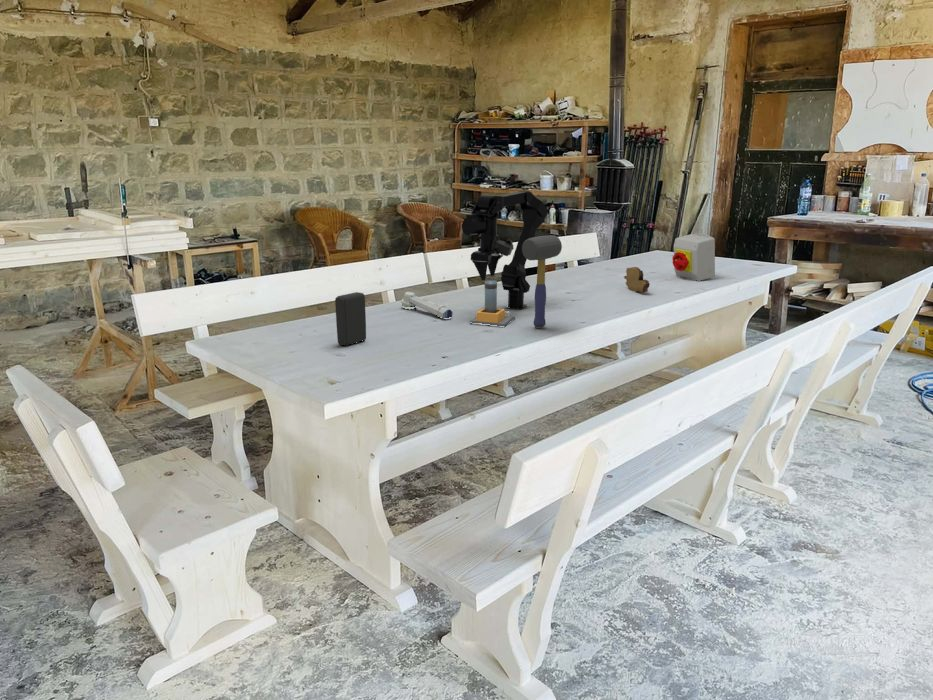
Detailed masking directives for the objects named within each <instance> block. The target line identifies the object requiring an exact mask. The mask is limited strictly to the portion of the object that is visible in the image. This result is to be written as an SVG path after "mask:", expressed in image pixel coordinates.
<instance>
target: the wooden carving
mask: <svg viewBox="0 0 933 700" xmlns="http://www.w3.org/2000/svg"><path fill="white" fill-rule="evenodd" d="M625 273H626V275H625V276H623V278H624V280H626V282H625V285H626V286H627V288H628V289H629V290H630V291H631V290H632V292H633V291H635V292H634V293H637V292H640V293H642V294H643V293H644V294H645V293H647V292H648V289H649V288H650V285H651V284H650V281H649V280H647V279H644V272H643V270H641V268H639V267H638V266H632V267H626V269H625Z"/></svg>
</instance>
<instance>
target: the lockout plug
mask: <svg viewBox="0 0 933 700" xmlns="http://www.w3.org/2000/svg"><path fill="white" fill-rule="evenodd" d="M497 295H498V281H497V280H495V279H487V280H486V279H485V280H484V307H485V312H486V313H497V309H498V307H497V305H498V304H497V303H498V298H497V297H498V296H497Z"/></svg>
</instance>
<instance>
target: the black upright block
mask: <svg viewBox="0 0 933 700" xmlns="http://www.w3.org/2000/svg"><path fill="white" fill-rule="evenodd" d="M334 299H335V300H334V304H335V306H334V307H335V319H336V337H337V344H338V345H339V344H341V345H340V346H342V345H348V346H350V345H349V344H352V343H355V344H357V343H356V342H359V341H362V340H364V341H366V339H367V321H366V320H367V319H366V318H367V317H366V315H367V314H366V296H365V294H364V293H363V292H357V291H356V292H351V293H346V294H342V295H338V296H336V297H335V298H334ZM362 342H363V341H362ZM359 343H360V342H359ZM352 345H353V344H352Z"/></svg>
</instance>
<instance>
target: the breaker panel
mask: <svg viewBox="0 0 933 700" xmlns="http://www.w3.org/2000/svg"><path fill="white" fill-rule="evenodd" d="M505 309H506V308H505ZM505 309H504V308H497V313H486V312H485V306H484V307H483V308H481V309H479V310H477V311H476V313H475V317H473V318H472V319H470V320H469V323H470V322H472V323H482V324H490V325H497V326H505V325H506V324H508V323H509V322H510V321H512V320H513V319H514V318H515V319H516V315H510V311H508V310H507V311H506V310H505ZM515 319H514V320H515ZM514 320H513V321H514ZM513 321H512V322H513ZM510 323H511V322H510ZM510 323H509V324H510ZM509 324H508V325H509ZM505 327H506V326H505Z"/></svg>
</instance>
